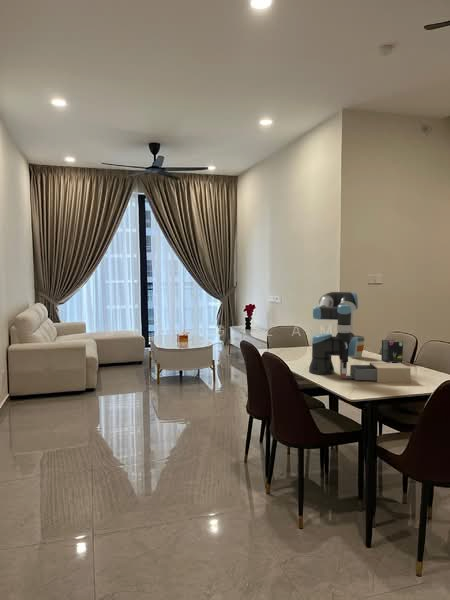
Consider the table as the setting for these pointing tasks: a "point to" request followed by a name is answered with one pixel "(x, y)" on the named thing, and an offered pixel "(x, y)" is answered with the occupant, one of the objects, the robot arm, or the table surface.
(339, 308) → the robot arm
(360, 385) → the table surface
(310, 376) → the table surface
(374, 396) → the table surface
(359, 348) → the reusable coffee cup
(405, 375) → the sleeve
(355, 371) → the tray
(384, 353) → the tampon box
